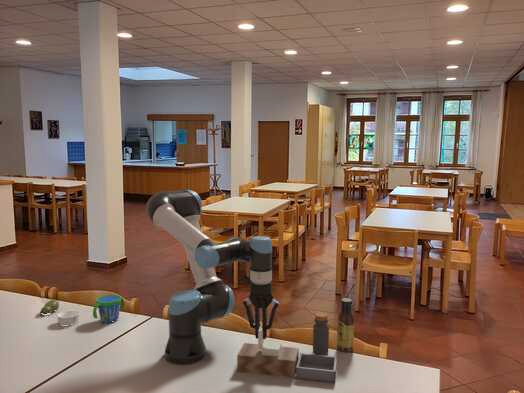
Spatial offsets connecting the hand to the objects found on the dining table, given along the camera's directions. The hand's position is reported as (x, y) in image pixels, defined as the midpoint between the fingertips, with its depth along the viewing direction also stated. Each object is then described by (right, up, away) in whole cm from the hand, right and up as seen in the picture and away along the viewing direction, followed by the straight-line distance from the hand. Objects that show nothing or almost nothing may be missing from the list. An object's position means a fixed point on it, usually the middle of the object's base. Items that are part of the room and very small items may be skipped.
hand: (261, 347), depth 161 cm
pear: (-98, -1, +52) cm, 111 cm away
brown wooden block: (+2, -8, +1) cm, 8 cm away
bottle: (+22, -7, +13) cm, 27 cm away
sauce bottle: (+32, -6, +16) cm, 36 cm away
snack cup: (-68, -3, +43) cm, 80 cm away
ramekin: (-84, -3, +40) cm, 93 cm away
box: (+19, -8, -3) cm, 21 cm away
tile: (+4, -2, 0) cm, 4 cm away
